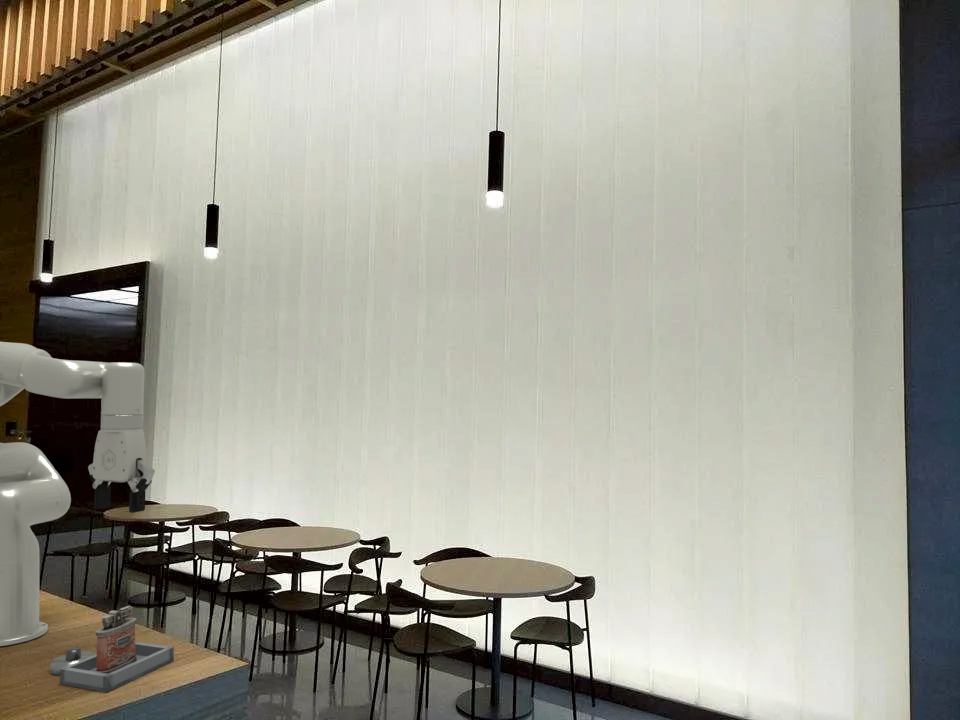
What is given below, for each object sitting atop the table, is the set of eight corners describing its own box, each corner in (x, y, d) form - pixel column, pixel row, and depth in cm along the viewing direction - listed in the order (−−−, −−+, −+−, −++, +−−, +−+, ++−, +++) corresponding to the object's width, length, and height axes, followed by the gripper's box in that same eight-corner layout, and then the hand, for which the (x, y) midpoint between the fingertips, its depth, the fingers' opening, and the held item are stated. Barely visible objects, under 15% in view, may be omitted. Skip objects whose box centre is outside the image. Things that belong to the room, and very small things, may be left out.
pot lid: (41, 672, 122) (41, 654, 122) (77, 658, 128) (77, 640, 128) (69, 677, 119) (69, 658, 119) (104, 662, 126) (104, 644, 126)
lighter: (106, 677, 117) (106, 618, 118) (90, 675, 118) (90, 617, 118) (141, 659, 125) (141, 604, 125) (126, 658, 126) (126, 603, 126)
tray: (59, 684, 116) (59, 669, 116) (129, 654, 129) (129, 640, 129) (107, 692, 112) (107, 676, 112) (173, 660, 125) (173, 647, 126)
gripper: (75, 423, 137) (72, 509, 136) (137, 425, 130) (134, 516, 129) (108, 422, 144) (105, 503, 143) (169, 424, 137) (166, 510, 136)
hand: (119, 509), depth 136 cm, fingers open, 9 cm apart
